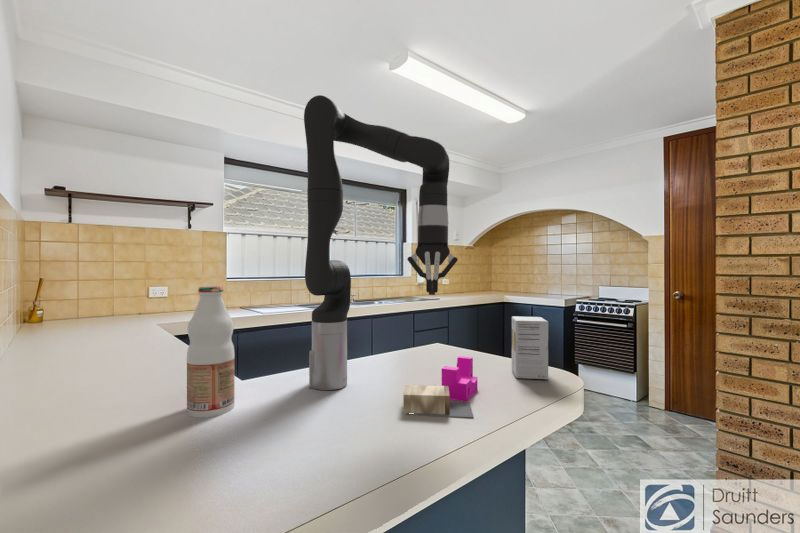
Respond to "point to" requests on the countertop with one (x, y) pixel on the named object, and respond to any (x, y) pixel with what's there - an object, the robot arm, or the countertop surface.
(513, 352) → the supplement box
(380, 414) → the countertop surface
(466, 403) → the mat
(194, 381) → the fruit juice
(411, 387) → the ash block
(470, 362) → the toy block
